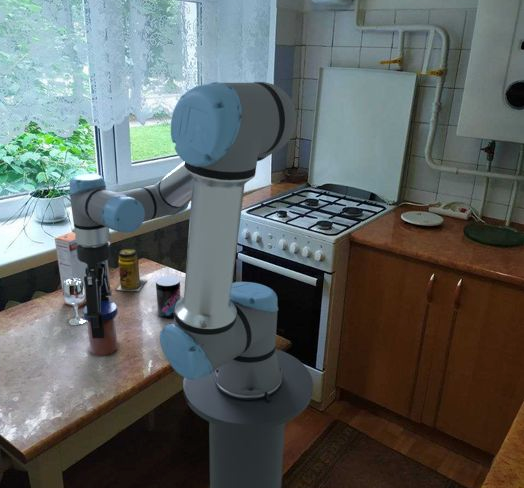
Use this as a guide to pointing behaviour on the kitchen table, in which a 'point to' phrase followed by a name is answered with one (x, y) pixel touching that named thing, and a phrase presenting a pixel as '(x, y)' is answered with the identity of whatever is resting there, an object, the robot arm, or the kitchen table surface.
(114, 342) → the jar
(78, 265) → the cracker box
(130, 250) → the condiment
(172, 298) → the supplement container
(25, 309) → the kitchen table surface
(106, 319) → the lid
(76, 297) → the wineglass
